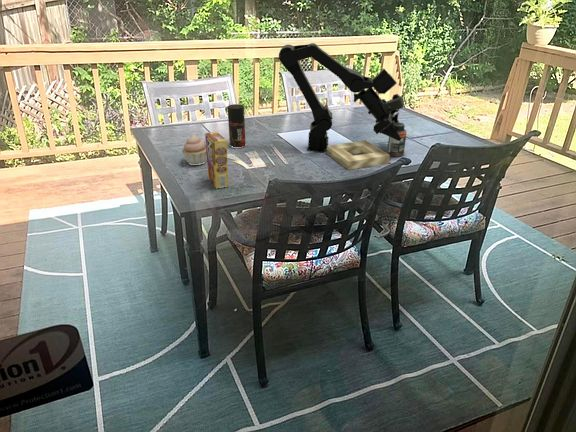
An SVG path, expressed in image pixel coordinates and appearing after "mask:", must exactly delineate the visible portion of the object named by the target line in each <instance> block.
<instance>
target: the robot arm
mask: <svg viewBox="0 0 576 432" xmlns="http://www.w3.org/2000/svg"><path fill="white" fill-rule="evenodd" d="M308 58H309V59H310V58H312V59H313V60H314V61H316V62H317V63H319V64H320V65H322V66H323V67H324V68H326V69H327V70H328V71H330V72H331V73H332V74H334V75H335V76H336V77H337V78H339V80H340V81H341V82H342V83H343V85H344V86H345V87H347V89H348V90H349V91H350V92H352V93H353V102H354V103H356V102H357V101H358V100H359V101H360V102H361V103H362V104H363V106H364V107H365V108H366V110H368V111H367V113H368V115H372V116H373V117H374V119H375V124H374V125H373V132H375V134H376V135H378V134H383V135H385V136H387V137H388V138H389V137H391V138H393V139H396V140H398V141H400V140H401V137H400V136H399V134H398V132H397V131H396V129H395V127H394V123H397V122H399V123H400V121H399V115H400V112H399V111H400V110H401V109H403V108H404V106H405V103H404V98H403V97H402V95H399V94H398V93H396V94H393V95H392V98H391V99H389V100H387V101H386V99H384V98H381V97H380V95H385V94H386V93H387V92H389V91H390V90H391V89H393V87H395V86H396V85H397V81H396V79H394V77H393V76H392V74H391V73H389V72H388V71H387V70H386V68H382V69H381V70H380V71H379V73H378V74H376V75H375V76H374V77H373V78H372V77H370V76H369V77H368V76H364V75H363V74H362V73H360V72H358V71H356V70H354V69H352V68H349V67H346V66H345V65H343V64H342V63H341V62H339V61H338V60H337V59H335V58H334V57H333V56H331V55H330V54H329V53H327V52H326V51H325V50H323V49H322V48H320V47H319V46H318V45H317V44H316V43H314V42H313V43H312V42H311V43H308V44H298V45H292V44H285V45H283V46H282V47H281V48H280V51H278V60H279V62H280V64H282V65H283V67H284V68H285V69H286V70H287V71H288V72H289V73H290V74H291V76H292V78H293V79H294V81H295V82H296V84H297V87H298V89H299V90H300V92H301V93H302V96H303V97H304V99H305V100H306V102H307V104H308V106H309V108H310V110H311V113H312V117H313V121H312V122H310V127H309V129H310V130H309V132H308V142H307V144H308V147H306V151H310V152H311V151H312V152H319V153H324V152H325V151H327V146H329V136H328V131H329V130H330V129H332V126H333V113H332V112H331V110H330V108H329V106H328V104H325V105H323V104H322V103H321V101H320V99H319V98H318V97H319V96H318V95H317V94H316V92H315V90H314V88H313V87H312V85H311V83H310V81H309V79H308V77H307V76H306V74H305V72H304V70H303V68H302V64H301V60H305V59H308ZM373 88H374V89H373ZM375 90H376V91H375Z"/></svg>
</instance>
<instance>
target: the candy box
mask: <svg viewBox="0 0 576 432" xmlns="http://www.w3.org/2000/svg"><path fill="white" fill-rule="evenodd" d="M204 136H205V137H204V138H205V144H206V154H207V158H206V164H207V165H206V167H207V177H208V178H209V179H210V180H209V179H208V178H207V179H208V180H209V182H210V183H211V182H212V183H213V184H214V185H213V184H212V183H211V184H212V185H213V186H214V188H215V189H216V190H217V189H218V188H219V189H225V188H228V187H229V167H228V165H229V164H228V161H229V160H228V140H227V139H226V138H225V137H224V136H223V135H221V133H219V132H217V131H210V132H206V133H205V134H204ZM224 187H225V188H224Z"/></svg>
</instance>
